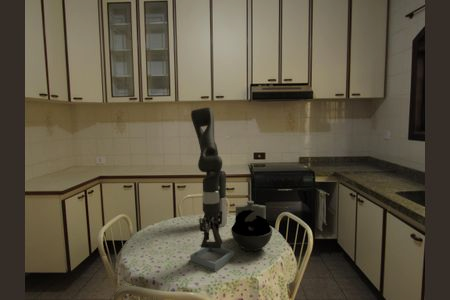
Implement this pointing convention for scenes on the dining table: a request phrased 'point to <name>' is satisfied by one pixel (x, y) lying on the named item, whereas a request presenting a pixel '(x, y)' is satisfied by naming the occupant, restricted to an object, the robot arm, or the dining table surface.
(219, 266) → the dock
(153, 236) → the dining table surface
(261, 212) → the hip flask
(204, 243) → the phone stand
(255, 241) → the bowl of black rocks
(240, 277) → the dining table surface
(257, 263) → the dining table surface
